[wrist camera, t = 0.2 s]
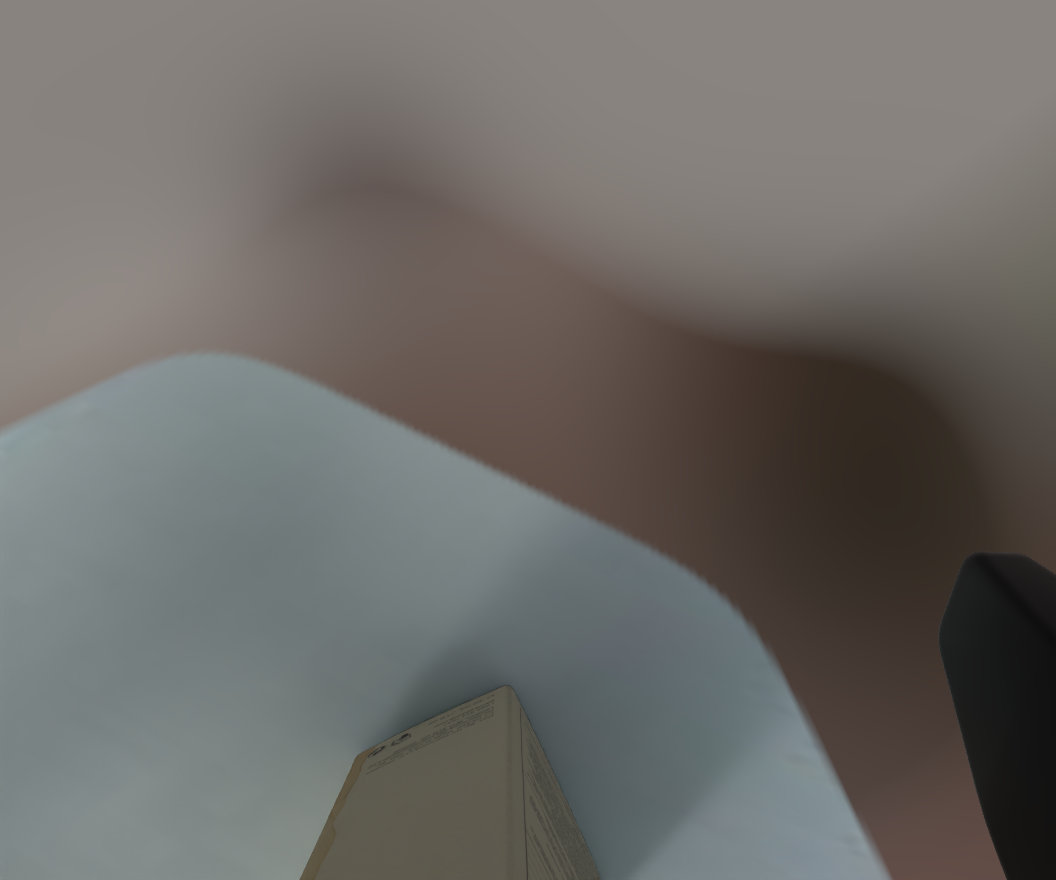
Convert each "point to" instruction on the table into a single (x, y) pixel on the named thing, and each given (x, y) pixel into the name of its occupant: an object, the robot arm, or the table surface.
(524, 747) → the cosmetic box
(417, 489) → the table surface
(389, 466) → the table surface
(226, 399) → the table surface
